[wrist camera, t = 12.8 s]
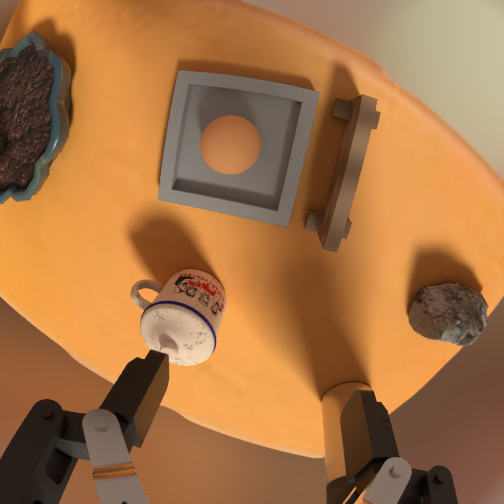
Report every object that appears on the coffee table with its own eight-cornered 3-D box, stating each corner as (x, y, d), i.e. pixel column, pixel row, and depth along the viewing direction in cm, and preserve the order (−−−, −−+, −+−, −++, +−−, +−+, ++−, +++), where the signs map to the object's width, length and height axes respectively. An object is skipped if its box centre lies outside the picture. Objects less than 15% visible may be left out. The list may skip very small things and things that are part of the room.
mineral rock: (483, 296, 34) (515, 332, 25) (440, 344, 38) (463, 385, 29) (445, 254, 32) (483, 291, 23) (396, 312, 36) (420, 359, 27)
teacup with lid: (241, 290, 37) (225, 350, 27) (209, 333, 41) (188, 392, 30) (162, 241, 36) (118, 285, 25) (139, 290, 39) (100, 339, 28)
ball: (270, 161, 30) (267, 167, 24) (218, 177, 31) (204, 186, 26) (253, 110, 28) (246, 103, 22) (201, 128, 29) (183, 126, 24)
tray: (287, 221, 33) (288, 227, 31) (164, 196, 33) (158, 200, 31) (317, 95, 27) (319, 92, 25) (184, 73, 27) (178, 70, 25)
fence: (343, 239, 33) (352, 256, 29) (303, 229, 33) (306, 245, 29) (377, 109, 27) (393, 105, 22) (335, 95, 27) (345, 88, 22)
